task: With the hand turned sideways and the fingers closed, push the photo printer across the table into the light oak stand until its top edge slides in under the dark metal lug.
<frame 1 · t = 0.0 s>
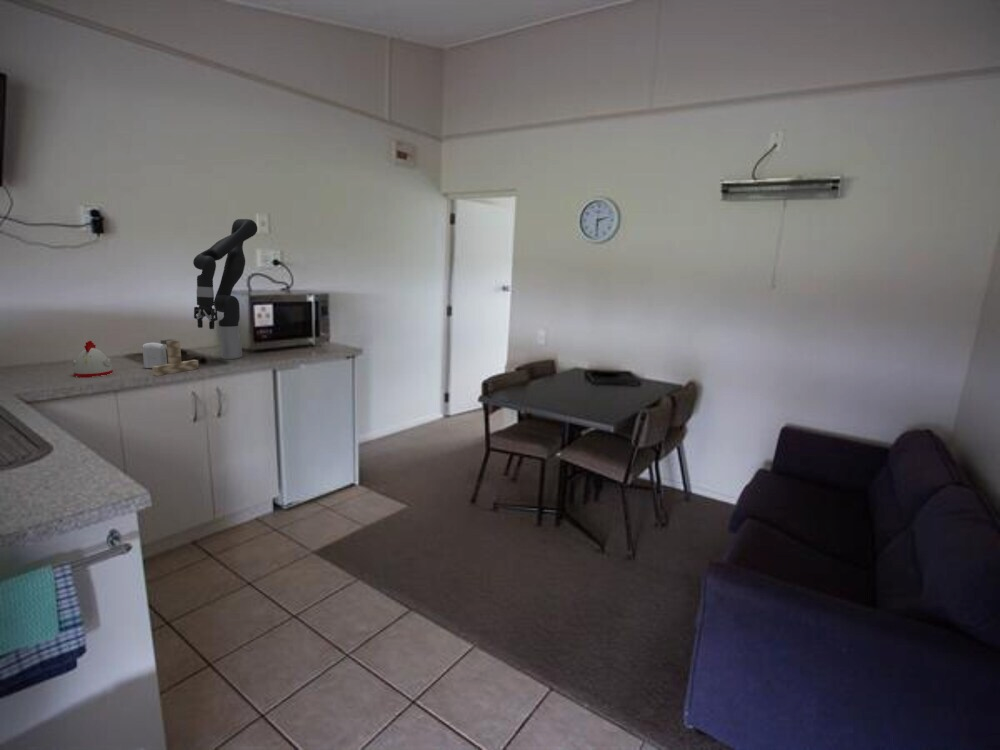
hand: (205, 328, 266), 17 cm above the worktop, tool pointing down, fingers open, 8 cm apart
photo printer: (156, 368, 251), on the worktop
retention stand: (175, 371, 245), on the worktop
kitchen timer: (94, 374, 235), on the worktop
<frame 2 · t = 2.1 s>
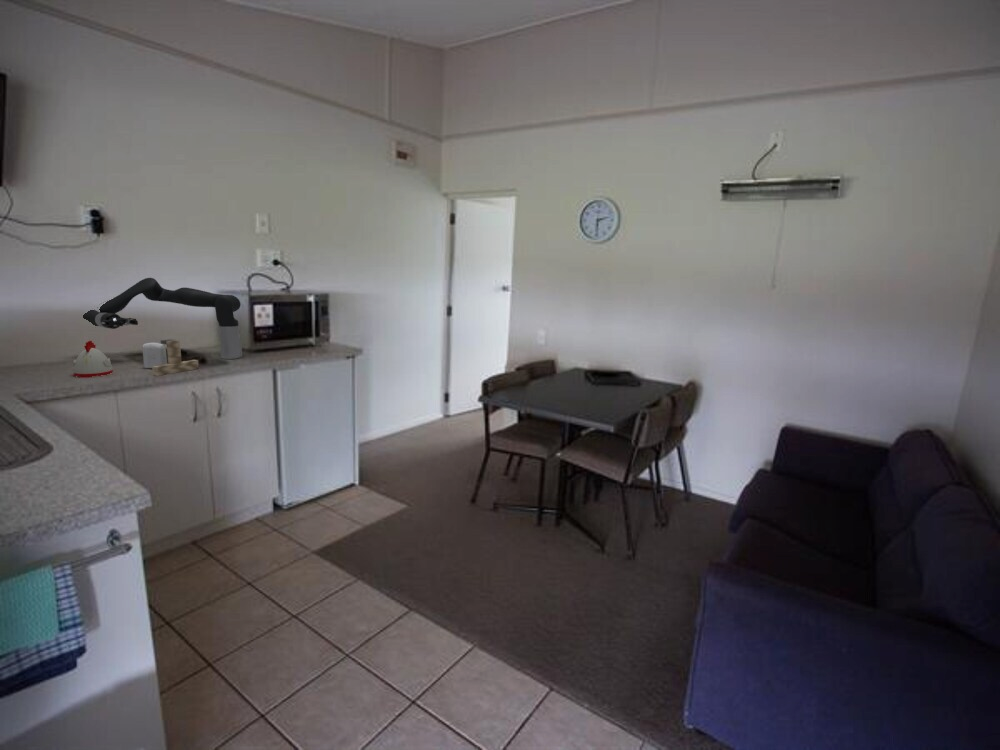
hand: (129, 323, 253), 20 cm above the worktop, tool horizontal, fingers open, 6 cm apart
nothing on the worktop moved.
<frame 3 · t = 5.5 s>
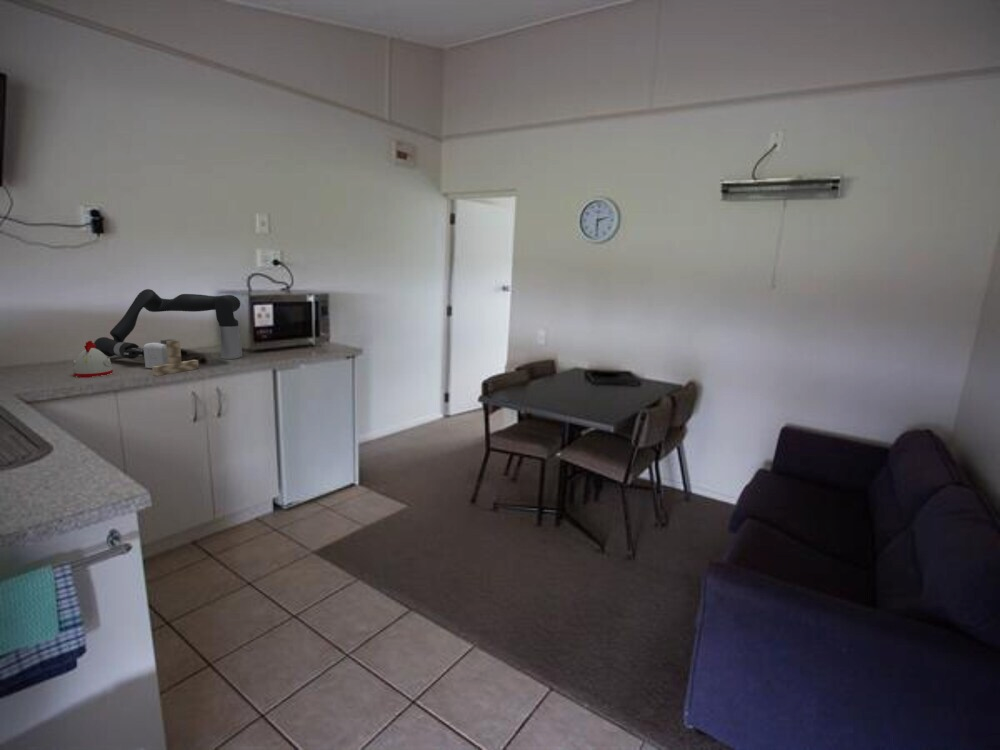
hand: (149, 353, 251), 7 cm above the worktop, tool horizontal, fingers closed
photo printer: (157, 368, 250), on the worktop, touching gripper
everything else where it was.
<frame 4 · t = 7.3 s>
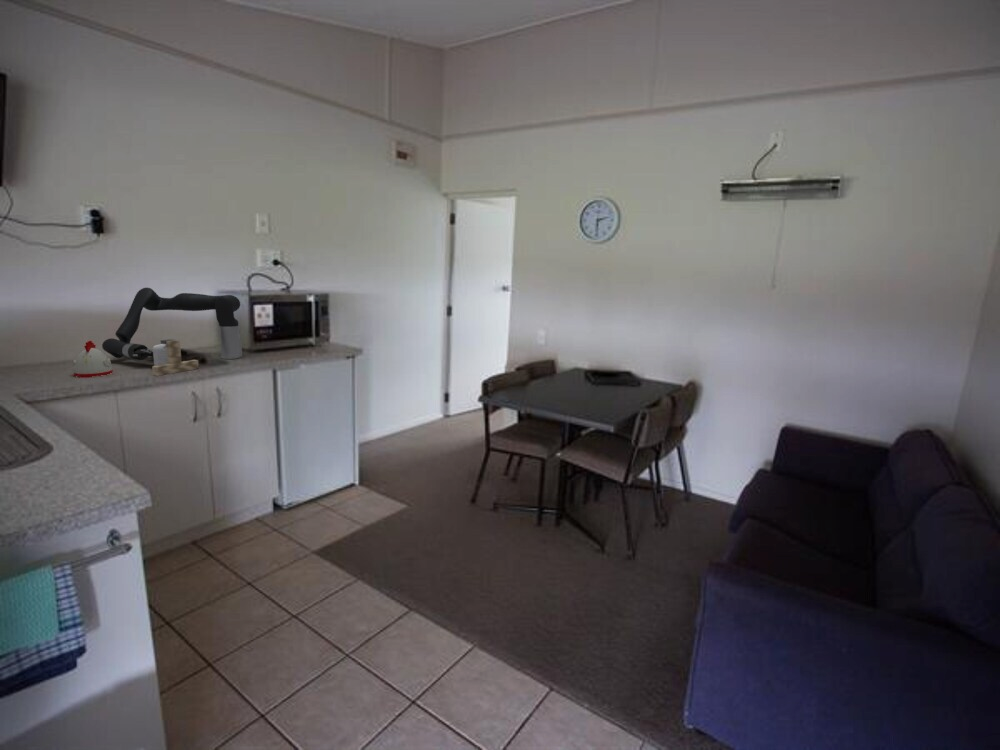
hand: (158, 355, 248), 7 cm above the worktop, tool horizontal, fingers closed
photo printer: (166, 370, 248), on the worktop, touching gripper
everything else where it was.
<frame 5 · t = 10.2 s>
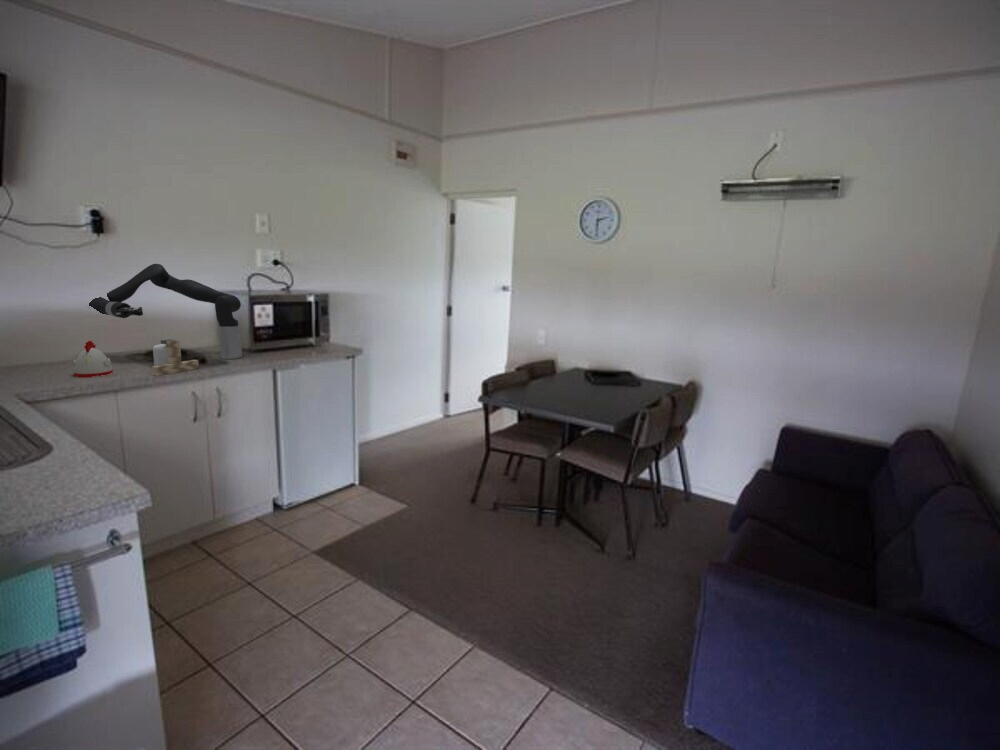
hand: (141, 313, 254), 25 cm above the worktop, tool horizontal, fingers closed
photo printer: (166, 370, 248), on the worktop
everything else where it was.
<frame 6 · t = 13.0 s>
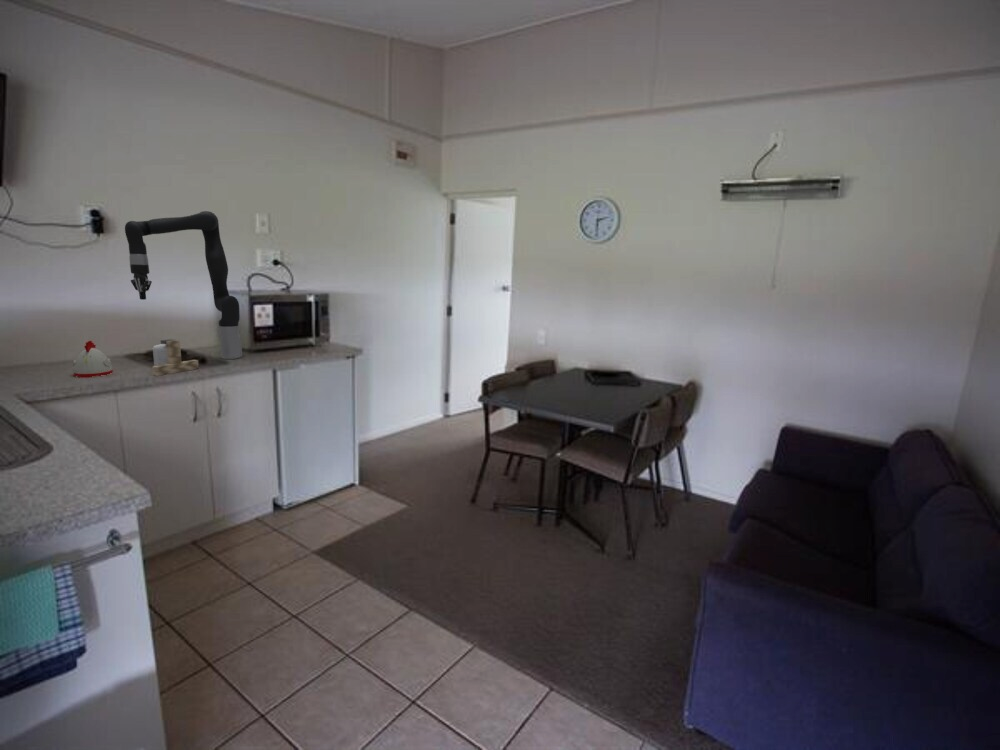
hand: (143, 299, 260), 31 cm above the worktop, tool pointing down, fingers closed
nothing on the worktop moved.
at the end: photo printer 0.0 cm from the target spot, on the worktop; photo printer tilted 0° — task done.
